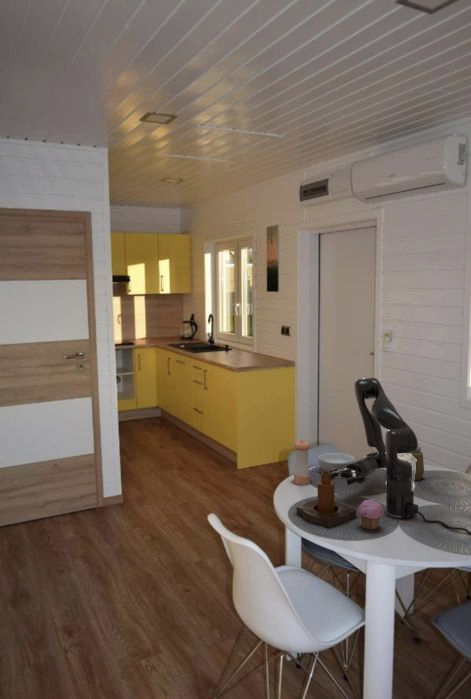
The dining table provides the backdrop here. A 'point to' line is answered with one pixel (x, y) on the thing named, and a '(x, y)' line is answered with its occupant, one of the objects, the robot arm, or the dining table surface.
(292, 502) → the dining table surface
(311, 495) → the dining table surface
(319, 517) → the board
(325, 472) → the bottle
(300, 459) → the pepper shaker
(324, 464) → the cereal bowl
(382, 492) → the dining table surface
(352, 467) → the robot arm
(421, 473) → the squeeze bottle
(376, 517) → the cupcake
